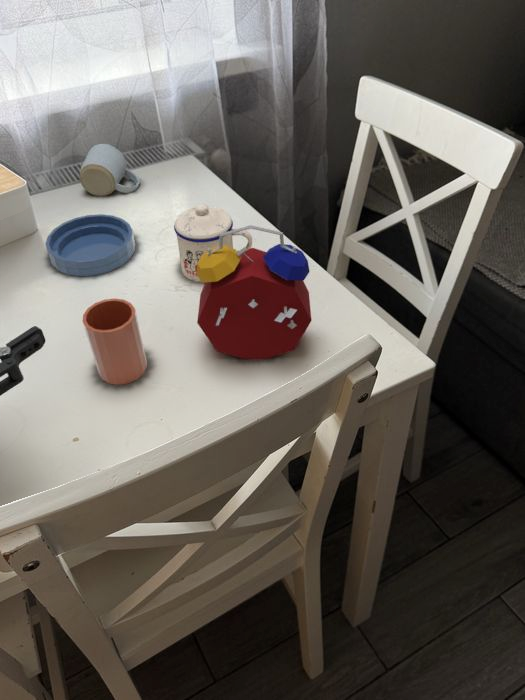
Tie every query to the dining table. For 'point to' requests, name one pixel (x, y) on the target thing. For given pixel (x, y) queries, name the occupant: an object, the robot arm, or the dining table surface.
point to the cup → (115, 341)
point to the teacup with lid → (202, 235)
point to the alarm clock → (253, 298)
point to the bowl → (90, 245)
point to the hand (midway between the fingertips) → (16, 317)
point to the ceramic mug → (105, 171)
